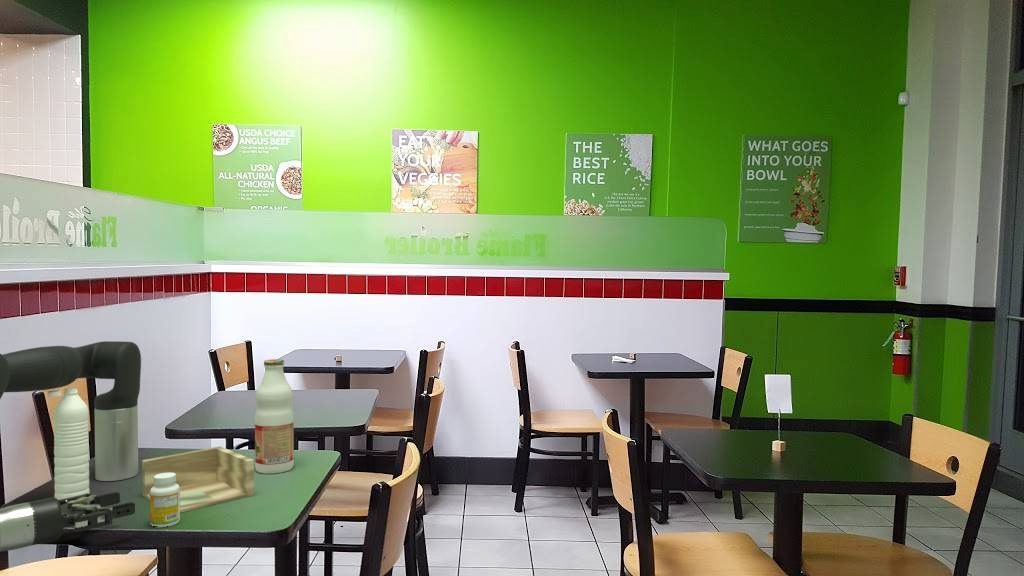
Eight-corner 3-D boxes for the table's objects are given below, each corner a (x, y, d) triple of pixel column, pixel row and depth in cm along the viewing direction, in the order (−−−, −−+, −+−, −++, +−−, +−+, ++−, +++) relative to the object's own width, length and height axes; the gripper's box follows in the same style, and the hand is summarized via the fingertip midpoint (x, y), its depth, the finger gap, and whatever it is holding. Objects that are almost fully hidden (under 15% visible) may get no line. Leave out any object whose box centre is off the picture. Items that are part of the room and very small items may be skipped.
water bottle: (71, 495, 157) (70, 385, 157) (96, 497, 156) (95, 386, 155) (38, 508, 149) (36, 391, 148) (64, 510, 147) (63, 392, 147)
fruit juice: (278, 476, 173) (278, 363, 172) (247, 472, 176) (246, 361, 175) (301, 466, 182) (300, 358, 181) (270, 462, 185) (270, 357, 184)
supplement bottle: (157, 518, 143) (156, 471, 143) (184, 518, 143) (183, 471, 143) (145, 528, 137) (145, 479, 137) (173, 527, 138) (173, 478, 138)
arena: (142, 495, 157) (142, 460, 157) (220, 479, 170) (219, 446, 170) (173, 514, 145) (172, 476, 145) (254, 495, 158) (253, 459, 158)
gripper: (36, 513, 118) (139, 491, 130) (17, 494, 128) (114, 475, 140) (37, 556, 119) (140, 531, 130) (17, 534, 128) (114, 512, 140)
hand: (126, 502), depth 135 cm, fingers open, 8 cm apart
